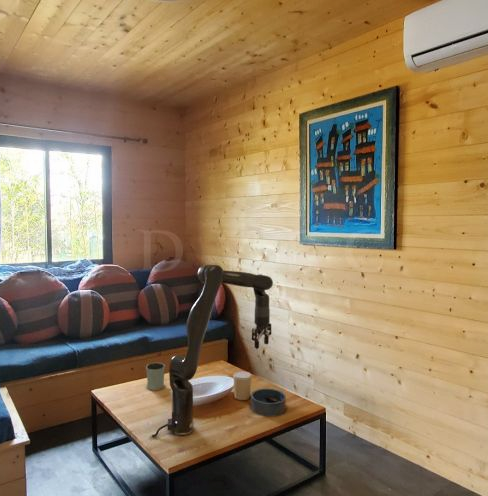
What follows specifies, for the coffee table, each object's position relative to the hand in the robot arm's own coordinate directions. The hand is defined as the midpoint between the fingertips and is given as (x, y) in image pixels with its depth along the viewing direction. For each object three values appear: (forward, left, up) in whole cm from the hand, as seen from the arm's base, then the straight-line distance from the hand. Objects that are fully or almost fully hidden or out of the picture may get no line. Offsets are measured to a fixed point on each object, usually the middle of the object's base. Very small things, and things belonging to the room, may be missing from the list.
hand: (261, 346), depth 214 cm
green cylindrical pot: (-54, +20, -28) cm, 64 cm away
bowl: (+2, -9, -28) cm, 30 cm away
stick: (+6, -5, -25) cm, 26 cm away
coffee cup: (-9, +4, -28) cm, 30 cm away
